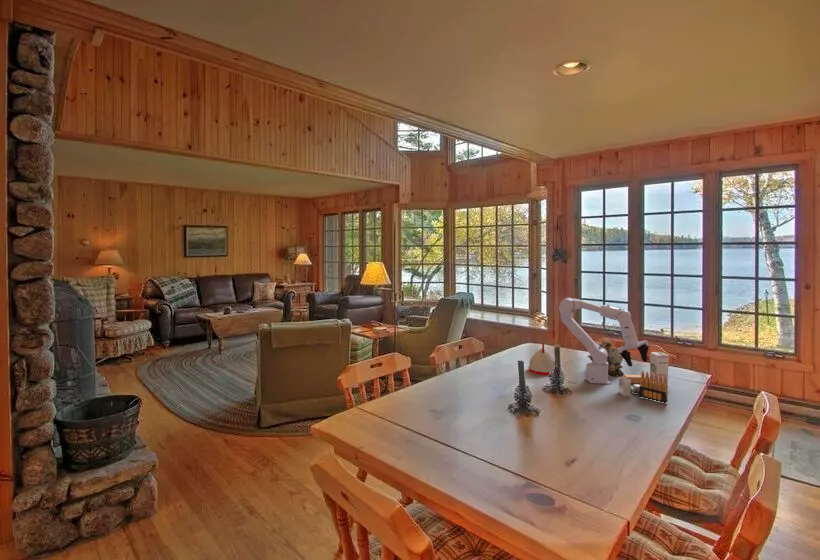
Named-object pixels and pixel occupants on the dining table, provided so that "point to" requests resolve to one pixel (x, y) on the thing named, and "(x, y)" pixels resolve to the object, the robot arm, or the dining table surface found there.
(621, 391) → the steel block
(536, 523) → the dining table surface
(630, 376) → the block
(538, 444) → the dining table surface
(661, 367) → the syrup box
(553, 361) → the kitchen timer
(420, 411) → the dining table surface
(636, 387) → the vise
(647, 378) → the ammunition clip
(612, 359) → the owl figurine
